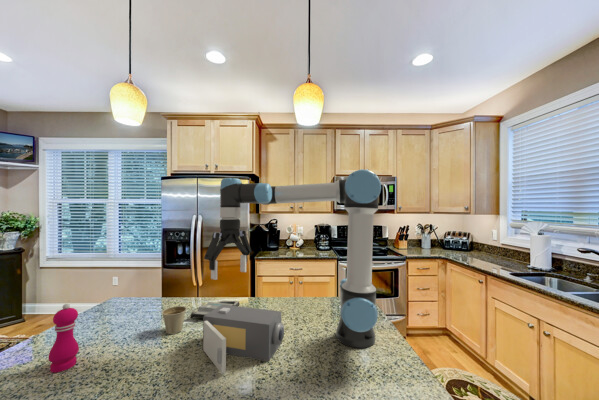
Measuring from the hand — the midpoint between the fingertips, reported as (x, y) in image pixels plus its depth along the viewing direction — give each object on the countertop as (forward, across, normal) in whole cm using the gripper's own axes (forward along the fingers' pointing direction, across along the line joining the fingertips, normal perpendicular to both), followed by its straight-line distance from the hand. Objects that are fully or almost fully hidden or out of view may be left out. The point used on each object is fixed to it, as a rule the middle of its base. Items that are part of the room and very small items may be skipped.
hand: (229, 275), depth 95 cm
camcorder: (+27, -17, -28) cm, 42 cm away
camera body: (+26, -4, +5) cm, 27 cm away
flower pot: (+26, +6, -29) cm, 40 cm away
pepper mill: (+26, +39, -34) cm, 58 cm away
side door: (+25, +10, +4) cm, 28 cm away
